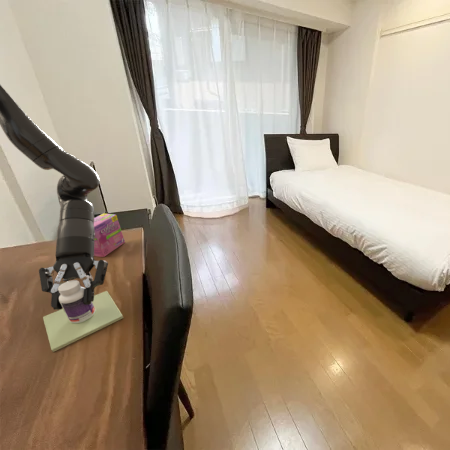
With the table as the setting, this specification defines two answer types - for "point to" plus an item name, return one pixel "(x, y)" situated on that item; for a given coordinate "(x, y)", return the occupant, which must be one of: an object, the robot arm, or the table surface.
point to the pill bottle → (74, 302)
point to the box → (107, 234)
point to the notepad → (70, 332)
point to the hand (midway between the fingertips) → (72, 306)
